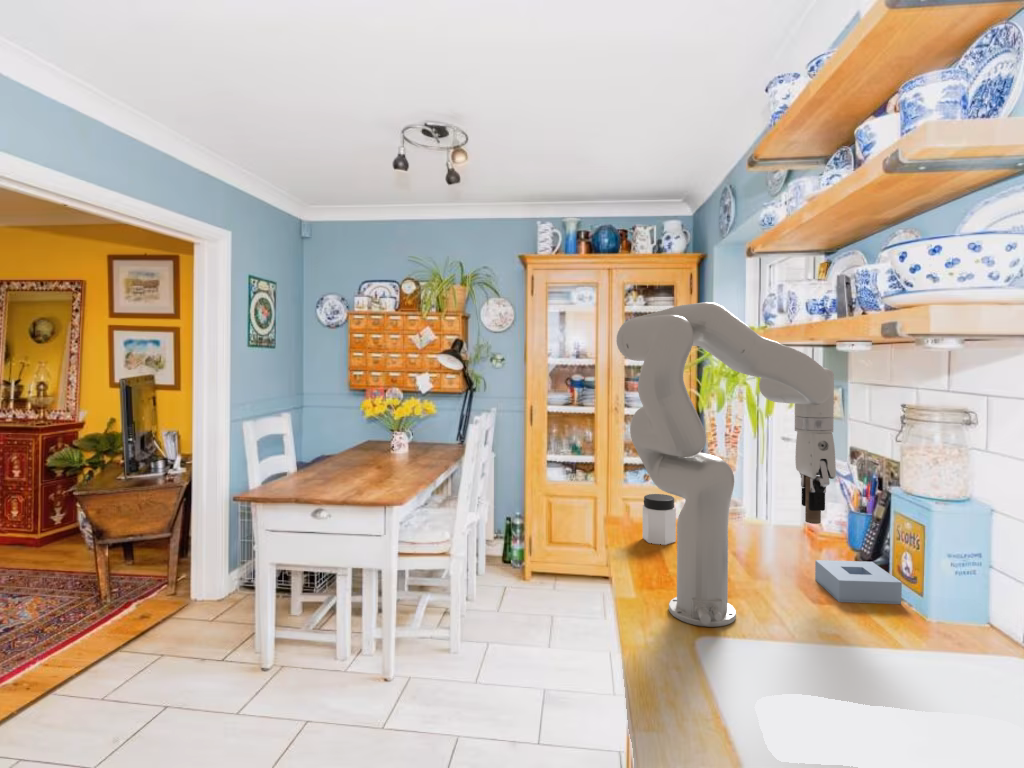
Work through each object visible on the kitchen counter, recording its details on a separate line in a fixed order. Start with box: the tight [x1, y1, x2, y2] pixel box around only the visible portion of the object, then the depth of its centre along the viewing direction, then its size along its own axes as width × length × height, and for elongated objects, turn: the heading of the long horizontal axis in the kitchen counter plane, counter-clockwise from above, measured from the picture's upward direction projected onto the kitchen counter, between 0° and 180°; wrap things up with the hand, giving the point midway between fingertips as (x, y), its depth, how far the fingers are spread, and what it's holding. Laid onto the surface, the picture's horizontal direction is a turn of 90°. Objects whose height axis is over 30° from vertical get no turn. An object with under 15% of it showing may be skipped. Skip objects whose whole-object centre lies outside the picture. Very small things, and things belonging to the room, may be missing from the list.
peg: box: [804, 475, 822, 525], centre depth 127 cm, size 3×3×10 cm
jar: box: [642, 493, 677, 546], centre depth 160 cm, size 9×8×12 cm
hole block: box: [814, 559, 903, 605], centre depth 125 cm, size 12×12×4 cm
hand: (813, 507), depth 127 cm, fingers closed on peg, 3 cm apart
